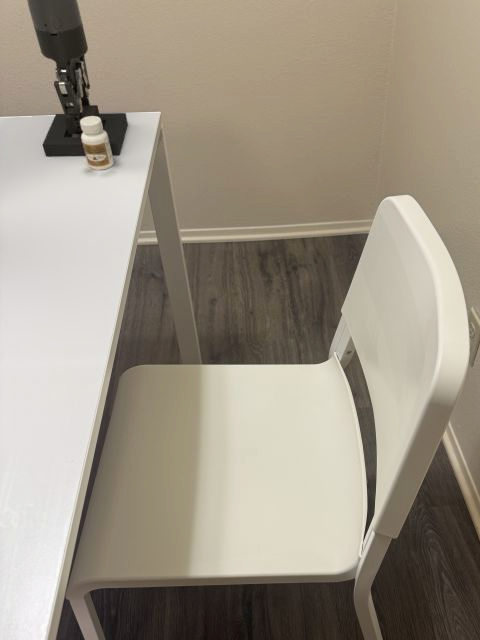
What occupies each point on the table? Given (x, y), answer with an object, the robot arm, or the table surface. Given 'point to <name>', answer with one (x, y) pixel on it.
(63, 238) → the table surface
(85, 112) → the small pad
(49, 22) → the robot arm
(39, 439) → the table surface
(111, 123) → the base pad
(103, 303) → the table surface
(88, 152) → the pill bottle
